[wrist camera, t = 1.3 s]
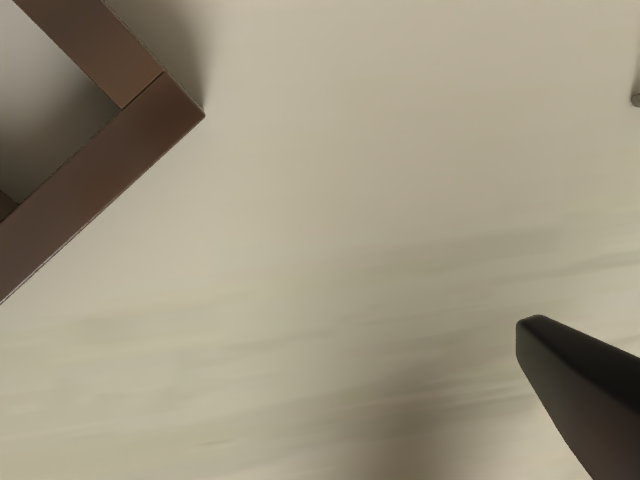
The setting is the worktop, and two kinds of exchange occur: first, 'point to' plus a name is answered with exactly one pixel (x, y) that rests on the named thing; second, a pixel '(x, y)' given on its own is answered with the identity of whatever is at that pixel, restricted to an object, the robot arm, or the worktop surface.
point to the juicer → (636, 100)
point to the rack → (105, 146)
